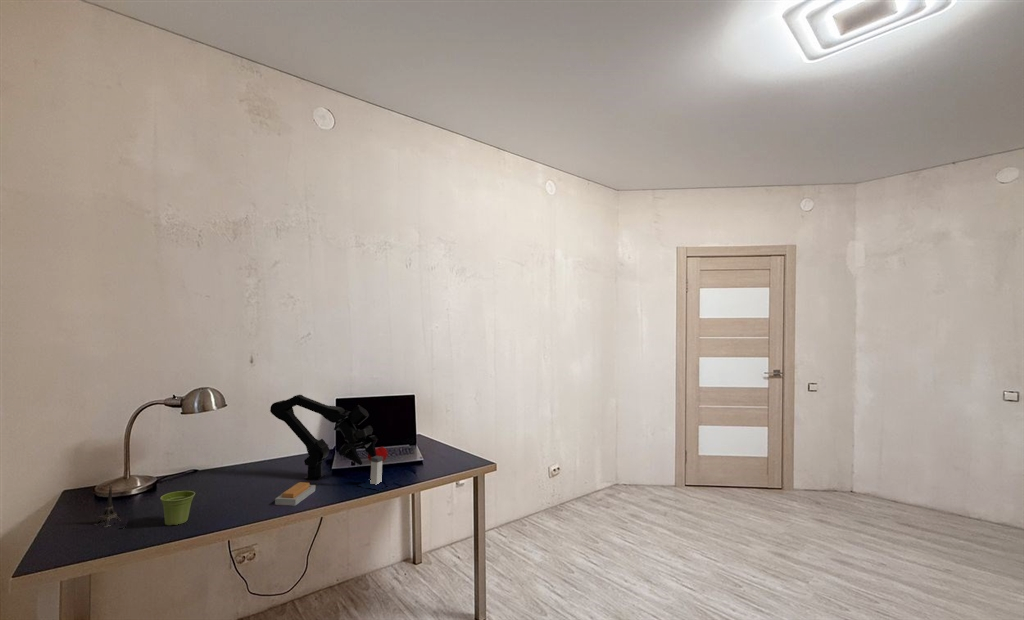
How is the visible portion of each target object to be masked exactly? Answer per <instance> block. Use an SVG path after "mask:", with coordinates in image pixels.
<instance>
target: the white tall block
mask: <svg viewBox="0 0 1024 620" xmlns="http://www.w3.org/2000/svg"><path fill="white" fill-rule="evenodd" d="M382 461H383V457H382V456H374V457H371V461H370V479H371V480H370V479H369V480H370V484H375V485H377V484H379V483H380V482H382V475H383V462H384V461H383V462H382Z"/></svg>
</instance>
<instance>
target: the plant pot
mask: <svg viewBox="0 0 1024 620" xmlns="http://www.w3.org/2000/svg"><path fill="white" fill-rule="evenodd" d="M195 496H196V492H195V491H192V490H180V491H172V492H168V493H165V494H163V495H161V496H160V501H161V504H162V507H163V516H164V525H166V526H173V525H174V526H175V525H176V526H177V525H178V524H179V525H181V524H184V523H186V522H187V521H188V519H189V515H190V511H191V506H192V501H193V499H194V497H195ZM179 525H178V526H179Z"/></svg>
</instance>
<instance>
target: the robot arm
mask: <svg viewBox="0 0 1024 620" xmlns="http://www.w3.org/2000/svg"><path fill="white" fill-rule="evenodd" d="M295 406H296V407H297V406H298V407H301V408H303V409H306V410H309V411H311V412H312V413H313V412H314V413H316V414H319V415H321V416H322V417H323V418H324V419H325V420H326V421H328V422H330V423H334V427H333V431H340V432H341V434H342V435H343V437H344V438H343V441H344V442H345V443H343V445H342V446H341V447H340V448H339V449H338V454H339V456H340V458H341V457H343V458H346V459H348V460H350V461H352V462H354V463H355V464H357V465H360V466H361V465H362V466H363V462H362V460H361V457H360V455H359V454H358V452H357V449H358V448H361V447H362V448H363V449H364V451H365V452H366V453H367V455H368V454H369V455H370V456H371V457H374V456H377V455H376V450H375V449H376V443H377V442H378V440H379V438H378V437H377V436H376V435H373V432H374V428H373V426H371V425H367V426H365V427H364V428H363V429H360V428H358V429H357V428H356V426H359V425H360V424H362V423H363V422H364V421H365V420H367V419H368V417H370V414H369V412H368V410H367V409H365V408H364V407H362V406H361V405H360V404H358V405H356V406H355V407H354V408H353V409H352V410H351V411H349V410H345V409H344V408H343V407H341V406H335V405H327V404H324V403H322V402H319V401H317V400H314V399H312V398H309V397H307V396H304V395H303V394H296V395H294V396H292V397H290V398H288V399H283V400H279V401H275V402H272V404H271V406H270V408H269V409H270V410H269V412H270V413H271V415H273V417H276V418H277V419H278V420H279V421H282V422H284V423H285V424H286V425H287V426H288V427H289V429H290V430H291V431H292V432H293V433H294V434H295V435H296V437H297V438H298V439H299V440H300V441H301V442H302V443H303V444H304V446H305V448H306V452H307V454H308V457H306V458H305V459H304V465H305V466H307V474H306V476H304V477H303V479H304V480H318V481H319V480H320V479H321V478H323V477H324V476H325V473H323V462H324V461H325V460H326V457H328V456H329V454H330V447H329V444H327V443H326V441H325V440H324V439H323V438H321V439H317V438H316V437H315V436H314V435H313V434H312V433H311V432H310V430H308V428H307V427H306V426H305V425H304V424H303V423H302V422H301V420H300V419H299V418H298V417H297V416H296V415H295V411H294V407H295ZM338 422H339V423H338Z"/></svg>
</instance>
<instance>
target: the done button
mask: <svg viewBox="0 0 1024 620" xmlns="http://www.w3.org/2000/svg"><path fill="white" fill-rule="evenodd" d="M309 485H310V482H301V481H299V482H297V483H296V484H294V485H293V486H291V487H290V488H289V489H287V490H284V492H282V493H281V494H282V498H295V497H296V496H298V495H299V494H301V493H302V492H303V491H305V490H306V489H308V488H309Z"/></svg>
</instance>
